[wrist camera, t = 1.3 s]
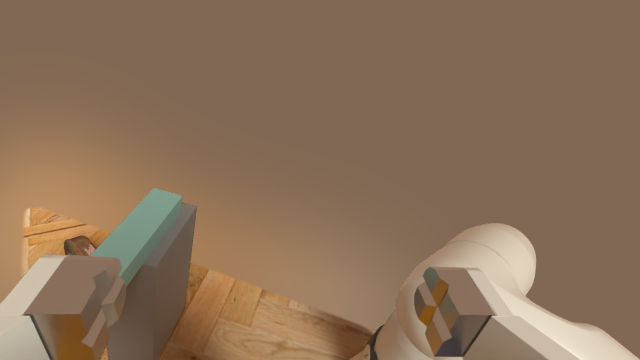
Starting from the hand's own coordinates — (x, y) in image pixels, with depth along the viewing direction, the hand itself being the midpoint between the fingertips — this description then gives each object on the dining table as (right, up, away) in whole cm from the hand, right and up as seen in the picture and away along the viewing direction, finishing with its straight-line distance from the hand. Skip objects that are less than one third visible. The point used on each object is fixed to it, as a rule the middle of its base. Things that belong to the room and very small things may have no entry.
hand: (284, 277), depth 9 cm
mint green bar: (-22, -6, +30) cm, 38 cm away
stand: (-29, -24, +49) cm, 61 cm away
